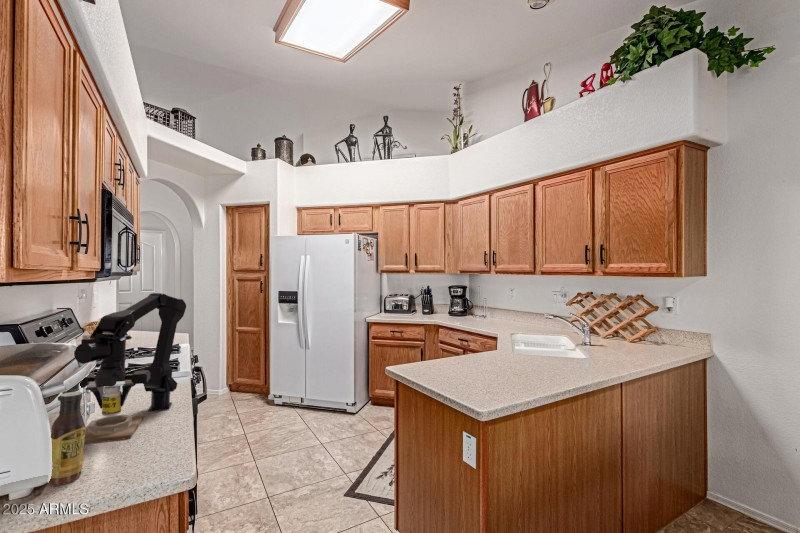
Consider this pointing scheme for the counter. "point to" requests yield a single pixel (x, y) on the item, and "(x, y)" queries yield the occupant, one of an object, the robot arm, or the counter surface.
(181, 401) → the counter surface
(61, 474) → the sauce bottle
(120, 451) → the counter surface
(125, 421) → the brown board with ring
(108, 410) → the supplement bottle
